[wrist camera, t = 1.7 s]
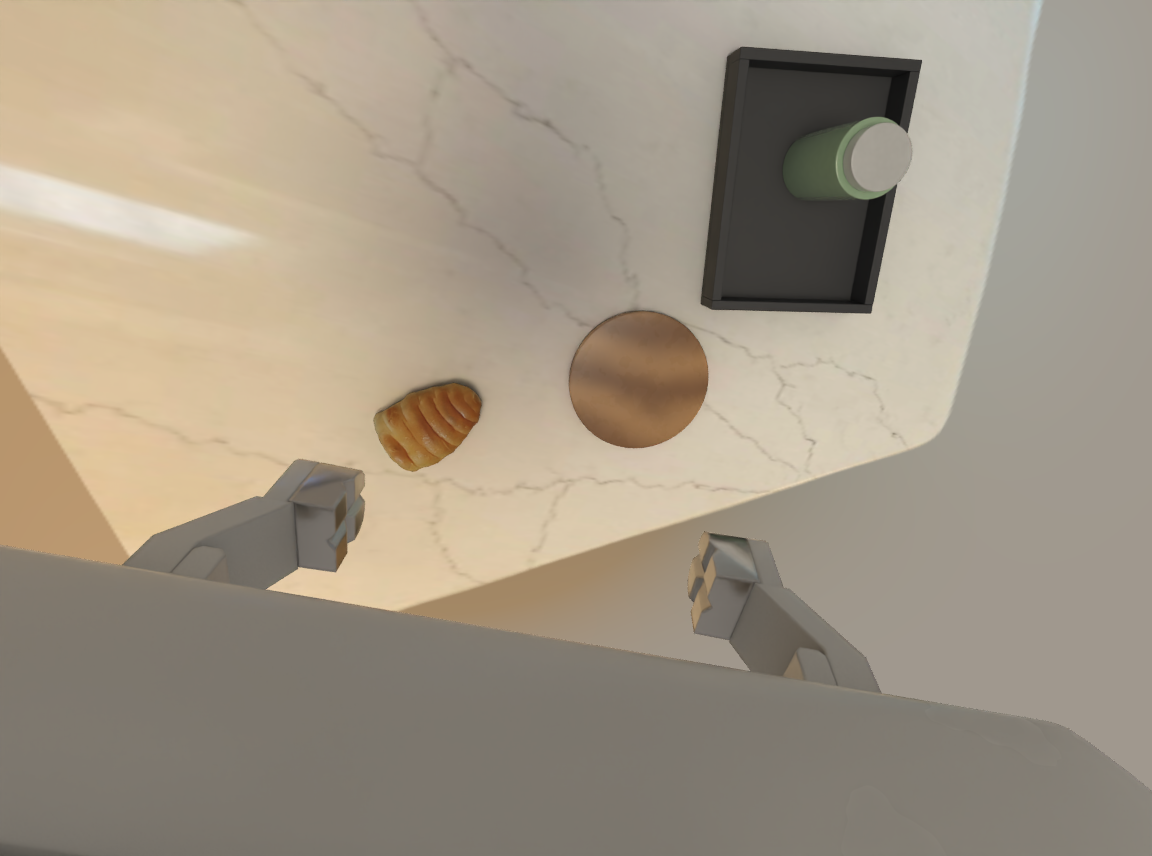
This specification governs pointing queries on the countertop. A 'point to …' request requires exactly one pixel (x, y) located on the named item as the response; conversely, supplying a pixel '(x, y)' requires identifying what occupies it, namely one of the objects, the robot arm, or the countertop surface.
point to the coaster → (638, 379)
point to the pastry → (427, 424)
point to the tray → (767, 208)
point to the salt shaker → (848, 161)
